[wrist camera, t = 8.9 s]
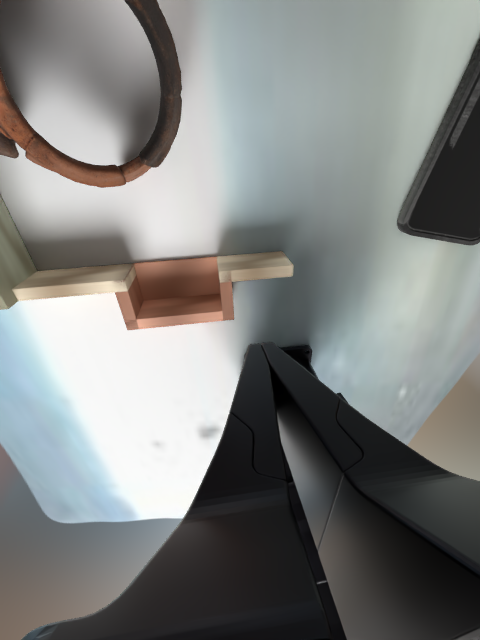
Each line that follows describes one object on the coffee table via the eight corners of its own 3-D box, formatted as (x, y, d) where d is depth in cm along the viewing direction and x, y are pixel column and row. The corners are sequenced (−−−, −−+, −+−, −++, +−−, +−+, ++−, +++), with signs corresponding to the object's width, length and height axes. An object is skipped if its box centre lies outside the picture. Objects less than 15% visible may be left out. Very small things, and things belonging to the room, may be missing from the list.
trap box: (304, -229, 10) (356, -421, 7) (279, 295, 22) (293, 320, 19) (-253, -270, 8) (-550, -545, 5) (48, 317, 21) (19, 349, 17)
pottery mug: (40, -157, 10) (89, -269, 6) (169, 108, 18) (231, 143, 14) (-209, 23, 10) (-349, 43, 6) (32, 213, 18) (51, 282, 14)
